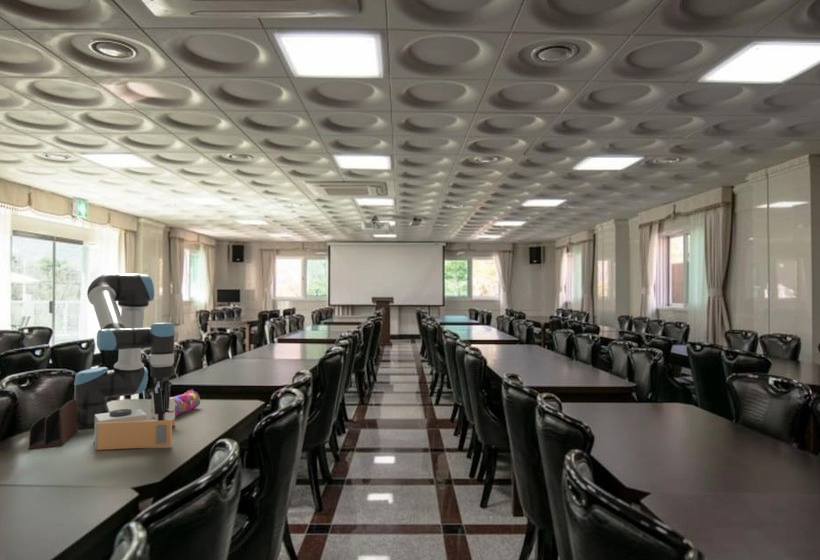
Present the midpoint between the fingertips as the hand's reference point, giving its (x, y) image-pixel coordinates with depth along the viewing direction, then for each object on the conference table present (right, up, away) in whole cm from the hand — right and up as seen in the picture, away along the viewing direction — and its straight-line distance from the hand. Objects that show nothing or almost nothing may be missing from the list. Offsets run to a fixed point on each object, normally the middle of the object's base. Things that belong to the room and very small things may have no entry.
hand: (161, 431), depth 177 cm
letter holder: (-44, -6, +8) cm, 45 cm away
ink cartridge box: (-13, -6, +27) cm, 31 cm away
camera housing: (-18, -5, +5) cm, 19 cm away
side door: (-8, -4, -5) cm, 10 cm away
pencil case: (-17, -8, +52) cm, 55 cm away
